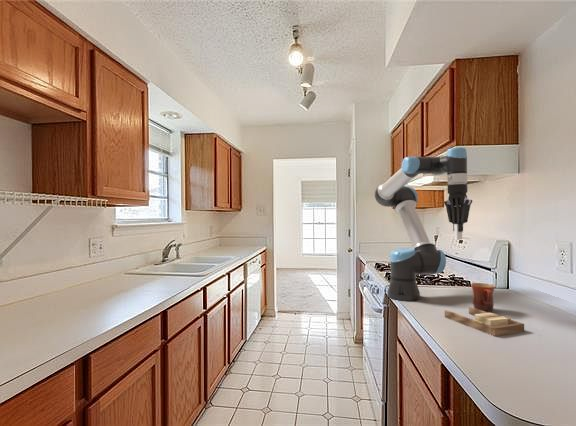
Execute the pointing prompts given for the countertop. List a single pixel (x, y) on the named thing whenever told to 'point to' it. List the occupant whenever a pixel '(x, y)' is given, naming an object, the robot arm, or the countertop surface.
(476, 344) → the countertop surface
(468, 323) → the beam slot
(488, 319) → the block
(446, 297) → the countertop surface
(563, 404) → the countertop surface
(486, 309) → the mug
